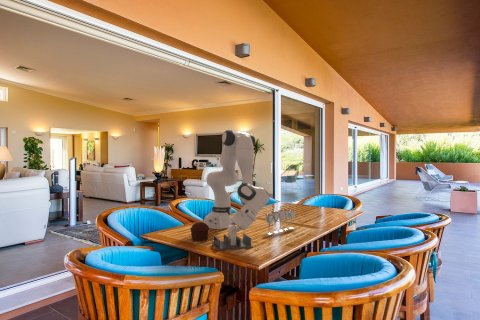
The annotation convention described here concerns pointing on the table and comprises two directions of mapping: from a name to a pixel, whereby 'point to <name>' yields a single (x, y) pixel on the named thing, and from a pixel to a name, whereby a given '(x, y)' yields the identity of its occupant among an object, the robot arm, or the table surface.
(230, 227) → the tall cream block
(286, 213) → the goblet set
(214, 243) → the dish rack
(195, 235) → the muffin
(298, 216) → the table surface
